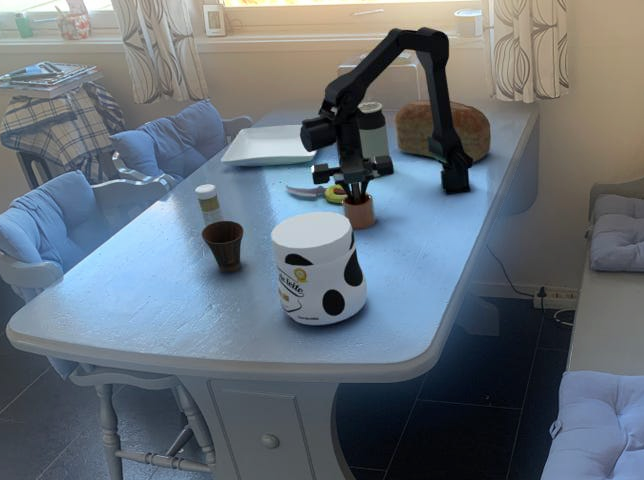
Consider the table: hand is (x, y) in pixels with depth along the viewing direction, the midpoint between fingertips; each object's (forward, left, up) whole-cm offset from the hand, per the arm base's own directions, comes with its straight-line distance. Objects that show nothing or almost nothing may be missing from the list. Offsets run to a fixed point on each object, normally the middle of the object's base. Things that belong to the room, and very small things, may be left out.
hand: (357, 203), depth 181 cm
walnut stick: (0, 0, -2) cm, 3 cm away
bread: (-27, -37, -5) cm, 46 cm away
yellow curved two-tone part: (+8, -18, -5) cm, 20 cm away
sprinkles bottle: (+34, -1, -5) cm, 34 cm away
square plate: (+20, -55, -5) cm, 59 cm away
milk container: (+10, +38, -5) cm, 40 cm away
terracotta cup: (0, 0, -5) cm, 5 cm away
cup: (+30, +15, -5) cm, 34 cm away
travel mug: (-7, -30, -5) cm, 31 cm away
